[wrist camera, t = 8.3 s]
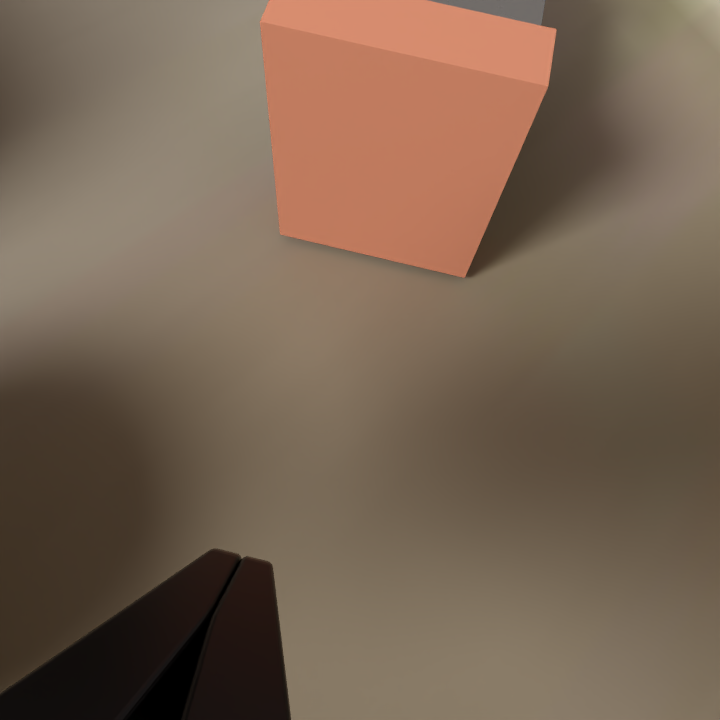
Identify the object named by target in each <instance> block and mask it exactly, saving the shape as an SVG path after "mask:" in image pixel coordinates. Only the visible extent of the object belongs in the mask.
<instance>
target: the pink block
mask: <svg viewBox="0 0 720 720" xmlns="http://www.w3.org/2000/svg"><path fill="white" fill-rule="evenodd" d="M260 26H261V37H262V47H263V58H264V69H265V79H266V90H267V100H268V111H269V121H270V132H271V142H272V153H273V164H274V174H275V185H276V195H277V206H278V216H279V227H280V234H281V235H285V236H289V237H293V238H298V239H302V240H306V241H310V242H315V243H319V244H323V245H327V246H332V247H336V248H340V249H344V250H349V251H353V252H357V253H361V254H366V255H370V256H374V257H378V258H383V259H387V260H391V261H395V262H400V263H404V264H408V265H412V266H416V267H421V268H425V269H429V270H433V271H438V272H442V273H446V274H450V275H455V276H459V277H463V278H465V276H466V274H467V271H468V269H469V267H470V265H471V262H472V260H473V258H474V255H475V253H476V251H477V249H478V246H479V244H480V242H481V239H482V237H483V235H484V232H485V230H486V228H487V226H488V223H489V221H490V219H491V216H492V214H493V212H494V210H495V207H496V205H497V203H498V200H499V198H500V196H501V194H502V191H503V189H504V187H505V184H506V182H507V180H508V177H509V175H510V173H511V171H512V168H513V166H514V164H515V161H516V159H517V157H518V155H519V152H520V150H521V148H522V145H523V143H524V141H525V139H526V136H527V134H528V132H529V129H530V127H531V125H532V122H533V120H534V118H535V116H536V113H537V111H538V109H539V106H540V104H541V102H542V100H543V97H544V95H545V93H546V90H547V88H548V85H549V78H550V71H551V64H552V57H553V50H554V43H555V37H556V30H557V29H554V28H549V27H545V26H540V25H536V24H531V23H527V22H522V21H518V20H513V19H509V18H504V17H500V16H495V15H491V14H486V13H482V12H477V11H473V10H468V9H464V8H459V7H455V6H450V5H446V4H441V3H437V2H432V1H428V0H269V2H268V4H267V7H266V9H265V11H264V14H263V16H262V18H261V20H260Z"/></svg>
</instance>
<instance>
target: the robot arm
mask: <svg viewBox="0 0 720 720" xmlns="http://www.w3.org/2000/svg"><path fill="white" fill-rule="evenodd" d="M0 720H291V714H290V706H289V698H288V689H287V681H286V673H285V664H284V656H283V648H282V639H281V631H280V623H279V614H278V606H277V598H276V589H275V581H274V573H273V566H272V564H271V563H270V562H268V561H264V560H260V559H256V558H252V557H248V556H246V557H244V558H243V559H241V556H240V555H239V554H237V553H233V552H229V551H225V550H221V549H211V550H209V551H208V552H206V553H205V554H203V555H202V556H201V557H199V558H198V559H196V560H195V561H193V562H192V563H190V564H189V565H187V566H186V567H184V568H183V569H182V570H180V571H179V572H177V573H176V574H174V575H173V576H171V577H170V578H168V579H167V580H165V581H164V582H162V583H161V584H160V585H158V586H157V587H155V588H154V589H152V590H151V591H149V592H148V593H146V594H145V595H143V596H142V597H141V598H139V599H138V600H136V601H135V602H133V603H132V604H130V605H129V606H127V607H126V608H124V609H123V610H122V611H120V612H119V613H117V614H116V615H114V616H113V617H111V618H110V619H108V620H107V621H105V622H104V623H103V624H101V625H100V626H98V627H97V628H95V629H94V630H92V631H91V632H89V633H88V634H86V635H85V636H84V637H82V638H81V639H79V640H78V641H76V642H75V643H73V644H72V645H70V646H69V647H67V648H66V649H64V650H63V651H62V652H60V653H59V654H57V655H56V656H54V657H53V658H51V659H50V660H48V661H47V662H45V663H44V664H43V665H41V666H40V667H38V668H37V669H35V670H34V671H32V672H31V673H29V674H28V675H26V676H25V677H24V678H22V679H21V680H19V681H18V682H16V683H15V684H13V685H12V686H10V687H9V688H7V689H6V690H5V691H3V692H2V693H0Z"/></svg>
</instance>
